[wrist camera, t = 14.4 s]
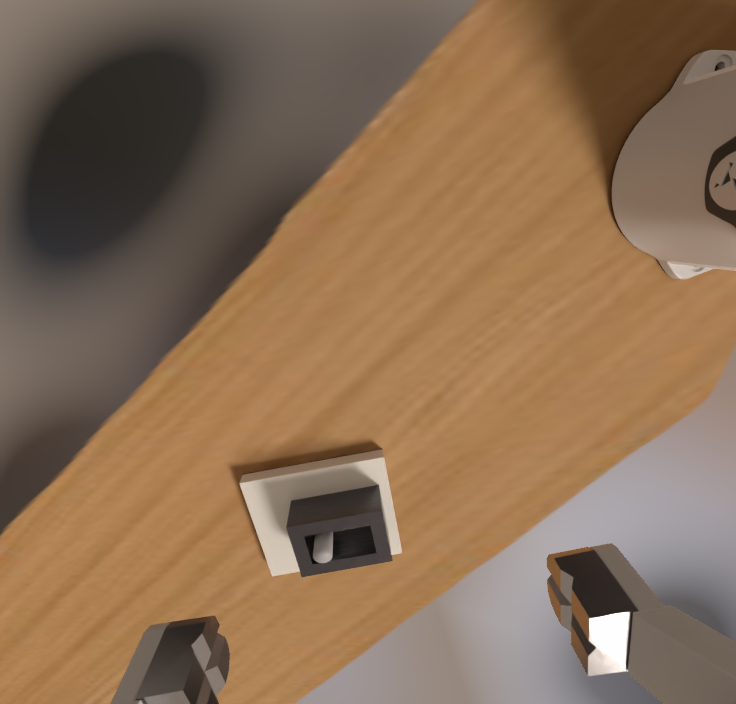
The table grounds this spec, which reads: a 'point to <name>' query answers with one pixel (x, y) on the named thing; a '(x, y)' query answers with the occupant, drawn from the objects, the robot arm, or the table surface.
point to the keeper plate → (282, 485)
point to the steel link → (336, 515)
